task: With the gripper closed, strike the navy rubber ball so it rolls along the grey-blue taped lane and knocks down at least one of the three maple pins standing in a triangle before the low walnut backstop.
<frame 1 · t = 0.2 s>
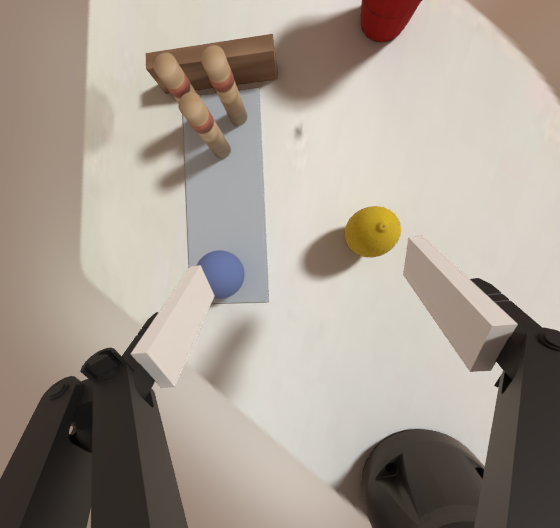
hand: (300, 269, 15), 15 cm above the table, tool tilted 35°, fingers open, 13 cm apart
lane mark: (224, 197, 31), on the table
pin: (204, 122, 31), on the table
backstop: (219, 79, 31), on the table
lemon: (361, 237, 29), on the table
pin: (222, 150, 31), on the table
plastic cup: (382, 20, 29), on the table
ball: (220, 274, 28), on the table
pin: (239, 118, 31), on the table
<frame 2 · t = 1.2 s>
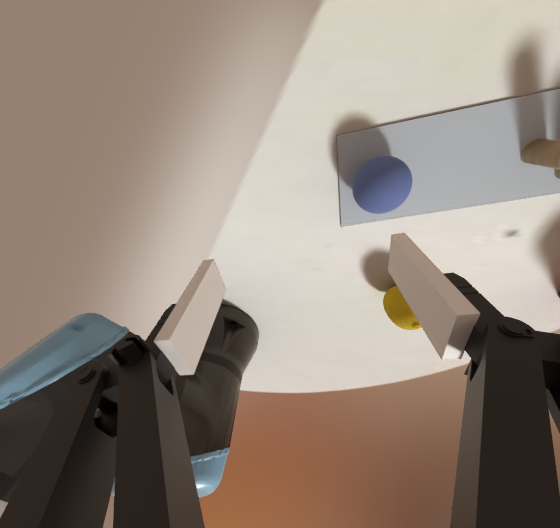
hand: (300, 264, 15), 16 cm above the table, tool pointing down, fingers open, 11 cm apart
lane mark: (467, 162, 26), on the table
lemon: (394, 287, 36), on the table
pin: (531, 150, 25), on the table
ball: (380, 186, 25), on the table
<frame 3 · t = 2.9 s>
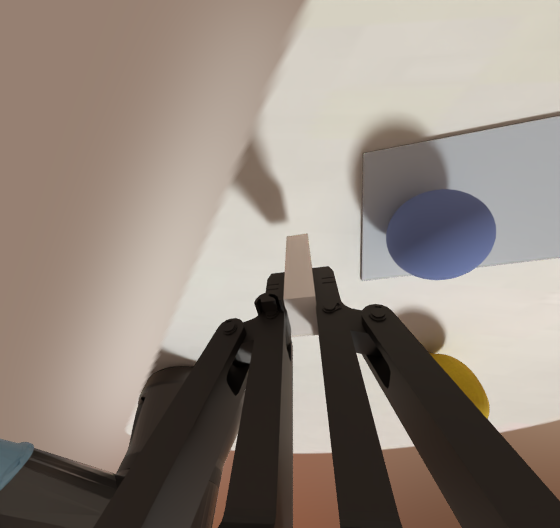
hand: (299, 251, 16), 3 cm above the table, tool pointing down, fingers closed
lemon: (427, 352, 27), on the table
ball: (434, 235, 15), on the table
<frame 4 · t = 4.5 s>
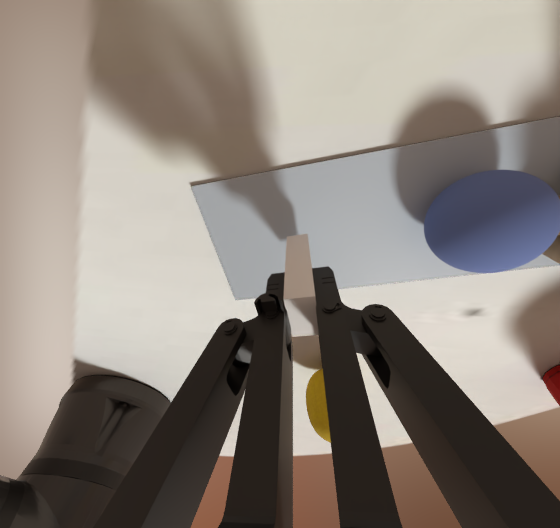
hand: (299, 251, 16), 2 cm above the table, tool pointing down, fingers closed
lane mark: (397, 225, 17), on the table
lemon: (326, 365, 28), on the table
ball: (482, 223, 13), on the table
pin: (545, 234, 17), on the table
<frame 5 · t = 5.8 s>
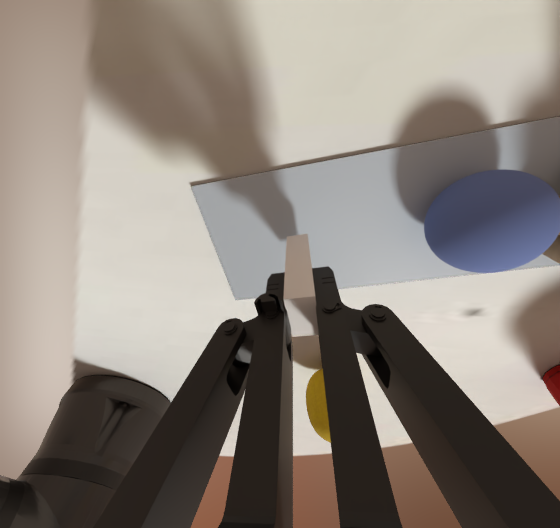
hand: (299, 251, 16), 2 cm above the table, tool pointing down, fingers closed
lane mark: (397, 225, 17), on the table
lemon: (326, 365, 28), on the table
ball: (483, 223, 13), on the table
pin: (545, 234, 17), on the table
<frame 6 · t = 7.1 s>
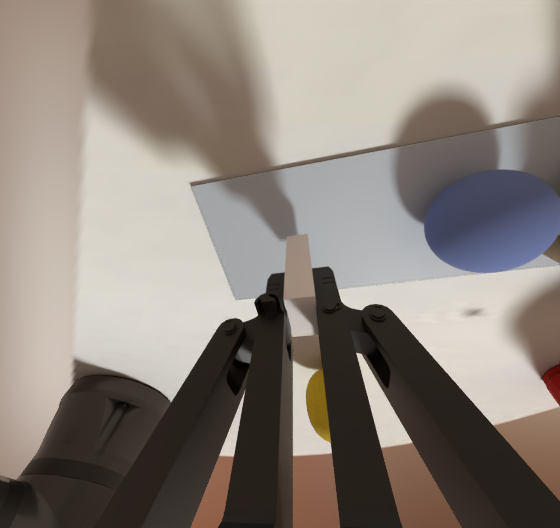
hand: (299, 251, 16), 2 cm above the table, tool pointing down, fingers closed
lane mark: (397, 225, 17), on the table
lemon: (326, 365, 28), on the table
ball: (483, 223, 13), on the table
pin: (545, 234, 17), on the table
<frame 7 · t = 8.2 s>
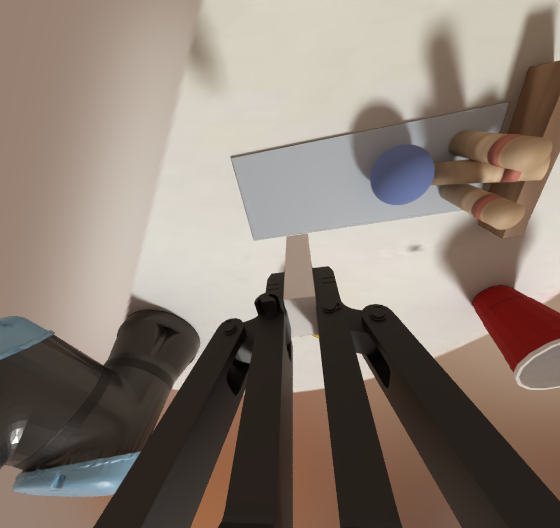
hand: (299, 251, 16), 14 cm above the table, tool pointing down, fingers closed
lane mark: (357, 183, 27), on the table
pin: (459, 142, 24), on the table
backstop: (509, 157, 25), on the table
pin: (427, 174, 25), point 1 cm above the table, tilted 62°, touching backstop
plastic cup: (493, 297, 36), on the table
ball: (400, 176, 24), on the table
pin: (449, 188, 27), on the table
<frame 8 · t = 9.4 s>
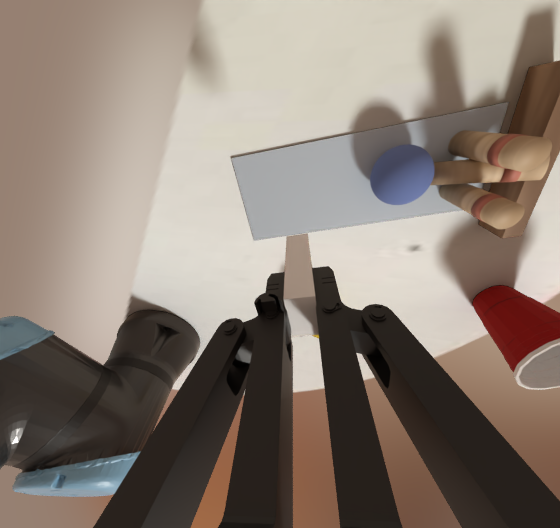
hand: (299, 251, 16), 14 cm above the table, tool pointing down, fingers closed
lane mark: (357, 183, 27), on the table
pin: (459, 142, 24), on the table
backstop: (509, 157, 25), on the table
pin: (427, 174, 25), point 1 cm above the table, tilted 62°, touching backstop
plastic cup: (492, 297, 36), on the table
ball: (400, 176, 24), on the table
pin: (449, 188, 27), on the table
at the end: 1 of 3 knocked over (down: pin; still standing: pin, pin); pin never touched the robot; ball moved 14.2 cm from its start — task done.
